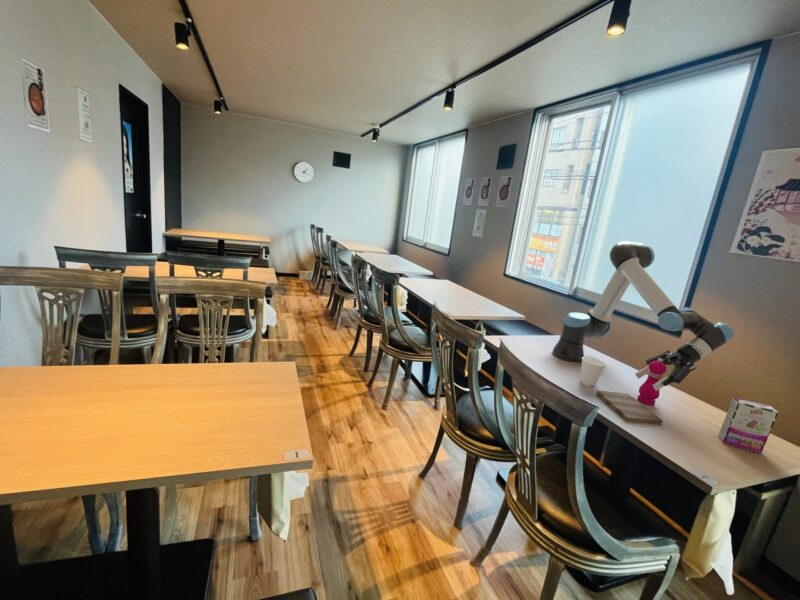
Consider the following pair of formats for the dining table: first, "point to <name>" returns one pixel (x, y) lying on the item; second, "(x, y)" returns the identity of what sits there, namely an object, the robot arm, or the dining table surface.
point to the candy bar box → (747, 424)
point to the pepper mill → (651, 383)
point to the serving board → (629, 408)
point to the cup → (591, 370)
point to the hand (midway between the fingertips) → (645, 382)
